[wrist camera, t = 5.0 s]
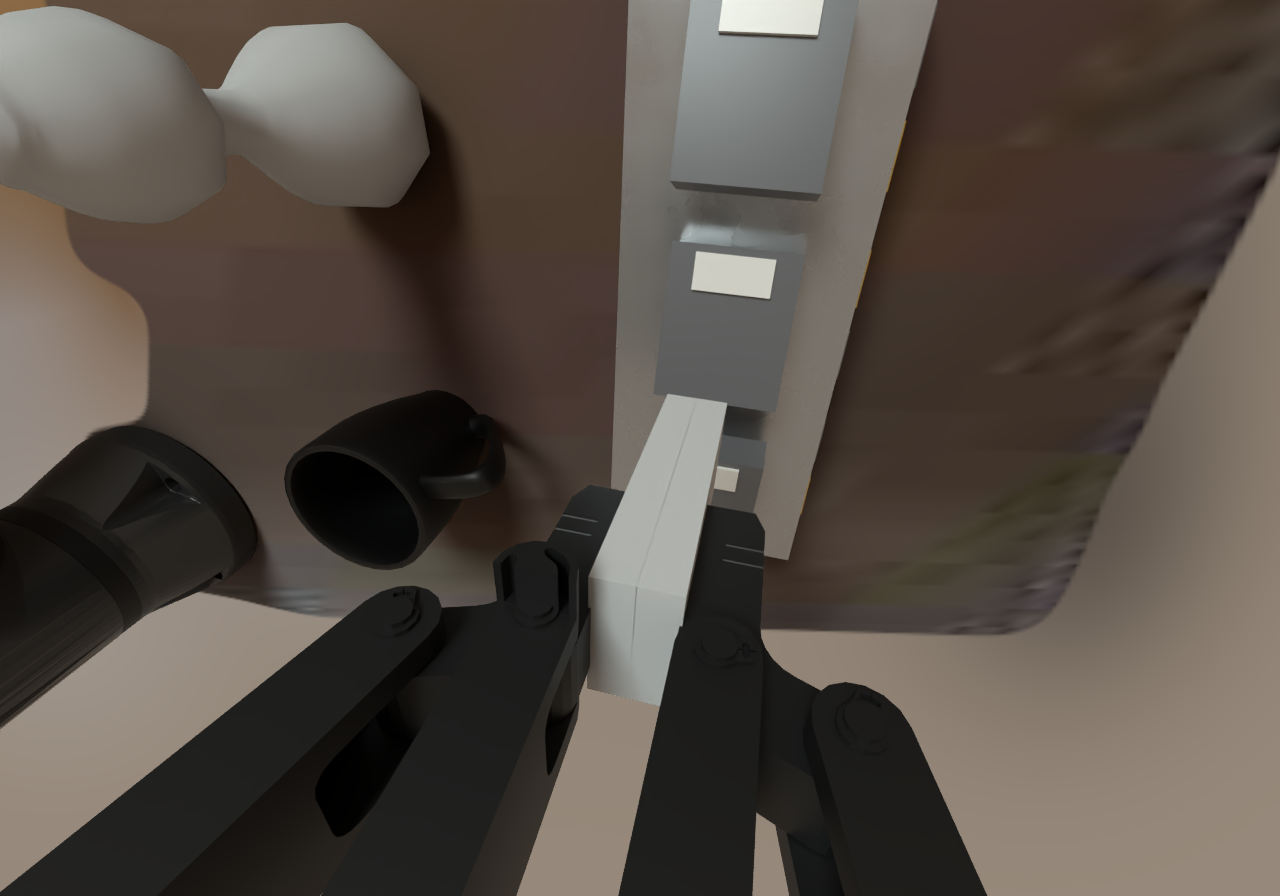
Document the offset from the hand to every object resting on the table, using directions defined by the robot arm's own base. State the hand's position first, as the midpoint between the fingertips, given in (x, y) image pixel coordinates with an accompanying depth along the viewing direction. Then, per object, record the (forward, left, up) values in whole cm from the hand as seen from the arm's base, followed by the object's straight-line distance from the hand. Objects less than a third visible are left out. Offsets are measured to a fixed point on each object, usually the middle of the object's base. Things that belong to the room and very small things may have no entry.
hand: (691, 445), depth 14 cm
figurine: (-19, +6, -17) cm, 26 cm away
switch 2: (0, 0, -10) cm, 10 cm away
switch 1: (0, +8, -10) cm, 13 cm away
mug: (-16, -11, -17) cm, 26 cm away
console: (0, 0, -16) cm, 16 cm away
